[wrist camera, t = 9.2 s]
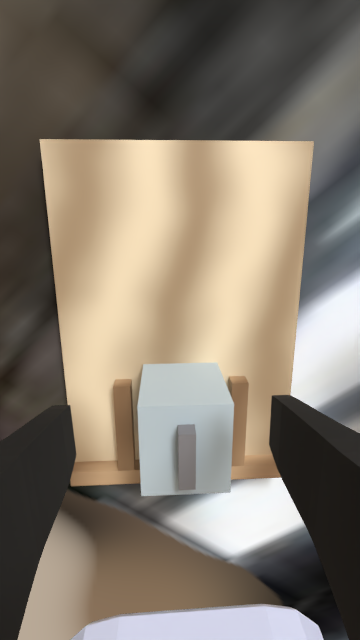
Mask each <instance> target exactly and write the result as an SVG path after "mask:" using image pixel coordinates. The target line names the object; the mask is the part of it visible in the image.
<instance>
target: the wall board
mask: <svg viewBox="0 0 360 640" xmlns="http://www.w3.org/2000/svg"><path fill="white" fill-rule="evenodd" d="M313 145H314V141H194V140H68V139H40V146H41V156H42V165H43V175H44V184H45V194H46V203H47V213H48V222H49V231H50V241H51V250H52V260H53V269H54V279H55V288H56V298H57V307H58V317H59V326H60V336H61V345H62V355H63V364H64V373H65V383H66V392H67V402H68V405H70V407H71V415H72V423H73V431H74V439H75V447H76V459H75V463H74V468H73V472H72V475H71V479H70V480H71V486H87V485H111V484H135V483H141V479H140V456H139V433H138V410H137V406H138V399H139V392H140V385H141V377H142V370H143V364H173V363H214V362H217V363H218V366H219V368H220V371H221V373H222V376H223V378H224V380H225V383H226V385H227V388H228V390H229V393H230V395H231V398H232V400H233V402H234V419H233V442H232V465H231V479H255V478H279V477H281V476H280V474H279V472H278V469H277V467H276V464H275V461H274V458H273V455H272V452H271V449H270V446H269V436H270V418H271V400H272V395H290V392H291V382H292V371H293V360H294V349H295V339H296V328H297V317H298V306H299V296H300V285H301V274H302V263H303V252H304V242H305V231H306V220H307V209H308V199H309V188H310V177H311V166H312V156H313Z"/></svg>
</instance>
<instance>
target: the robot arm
mask: <svg viewBox="0 0 360 640" xmlns="http://www.w3.org/2000/svg"><path fill="white" fill-rule="evenodd" d="M269 446H270V449H271V452H272V455H273V458H274V461H275V464H276V467H277V469H278V472H279V474H280V476H281V478H282V480H283V482H284V484H285V486H286V488H287V490H288V492H289V494H290V496H291V498H292V500H293V502H294V504H295V506H296V508H297V510H298V512H299V514H300V516H301V518H302V520H303V521H304V523H305V525H306V527H307V530H308V532H309V534H310V536H311V538H312V540H313V543H314V545H315V548H316V550H317V553H318V555H319V558H320V561H321V563H322V566H323V568H324V571H325V573H326V576H327V579H328V581H329V584H330V587H331V590H332V592H333V595H334V598H335V601H336V603H337V606H338V609H339V611H340V614H341V617H342V620H343V623H344V626H345V629H346V632H347V635H348V638H349V640H360V433H358V432H356V431H354V430H352V429H350V428H348V427H346V426H344V425H342V424H340V423H338V422H336V421H335V420H333V419H331V418H329V417H328V416H326V415H324V414H322V413H321V412H319V411H317V410H315V409H314V408H312V407H310V406H309V405H307V404H305V403H303V402H302V401H300V400H298V399H296V398H294V397H292V396H290V395H272V400H271V418H270V436H269ZM75 459H76V447H75V439H74V431H73V423H72V415H71V407H70V405H57V406H51V407H50V408H48V409H46V410H45V411H44V412H42V413H41V414H39V415H38V416H36V417H35V418H34V419H32V420H31V421H29V422H28V423H27V424H25V425H24V426H22V427H21V428H19V429H18V430H17V431H15V432H14V433H12V434H11V435H10V436H8V437H6V438H5V439H3V440H2V441H0V640H17V639H18V635H19V631H20V628H21V624H22V620H23V616H24V613H25V609H26V605H27V602H28V598H29V594H30V591H31V588H32V584H33V581H34V577H35V574H36V570H37V567H38V564H39V560H40V558H41V555H42V552H43V549H44V546H45V543H46V541H47V538H48V536H49V533H50V531H51V528H52V526H53V523H54V520H55V518H56V516H57V513H58V511H59V508H60V506H61V503H62V501H63V498H64V496H65V493H66V490H67V488H68V485H69V483H70V479H71V475H72V472H73V468H74V463H75ZM70 640H324V639H323V637H322V634H321V632H320V629H319V627H318V625H317V624H315V623H314V622H313V621H311V620H310V619H308V618H307V617H306V616H304V615H303V614H301V613H300V612H299V611H297V610H295V609H293V608H291V607H285V606H276V605H269V604H252V605H239V606H225V607H212V608H197V609H186V610H185V609H184V610H170V611H157V612H143V613H129V614H120V615H116V616H112V617H108V618H104V619H101V620H97V621H94V622H91V623H89V624H88V625H86V626H85V627H84V628H83V629H82V630H81V631H79V632H78V633H77V634H76V635H75V636H74V637H73V638H71V639H70Z"/></svg>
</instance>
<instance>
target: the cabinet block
mask: <svg viewBox="0 0 360 640" xmlns="http://www.w3.org/2000/svg"><path fill="white" fill-rule="evenodd" d="M137 410H138V433H139V456H140V479H141V496H158V495H181V494H204V493H227V492H230V488H231V465H232V442H233V419H234V402H233V400H232V398H231V395H230V393H229V390H228V388H227V385H226V383H225V380H224V378H223V376H222V373H221V371H220V368H219V366H218V363H217V362H214V363H173V364H143V370H142V377H141V385H140V392H139V399H138V406H137Z"/></svg>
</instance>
